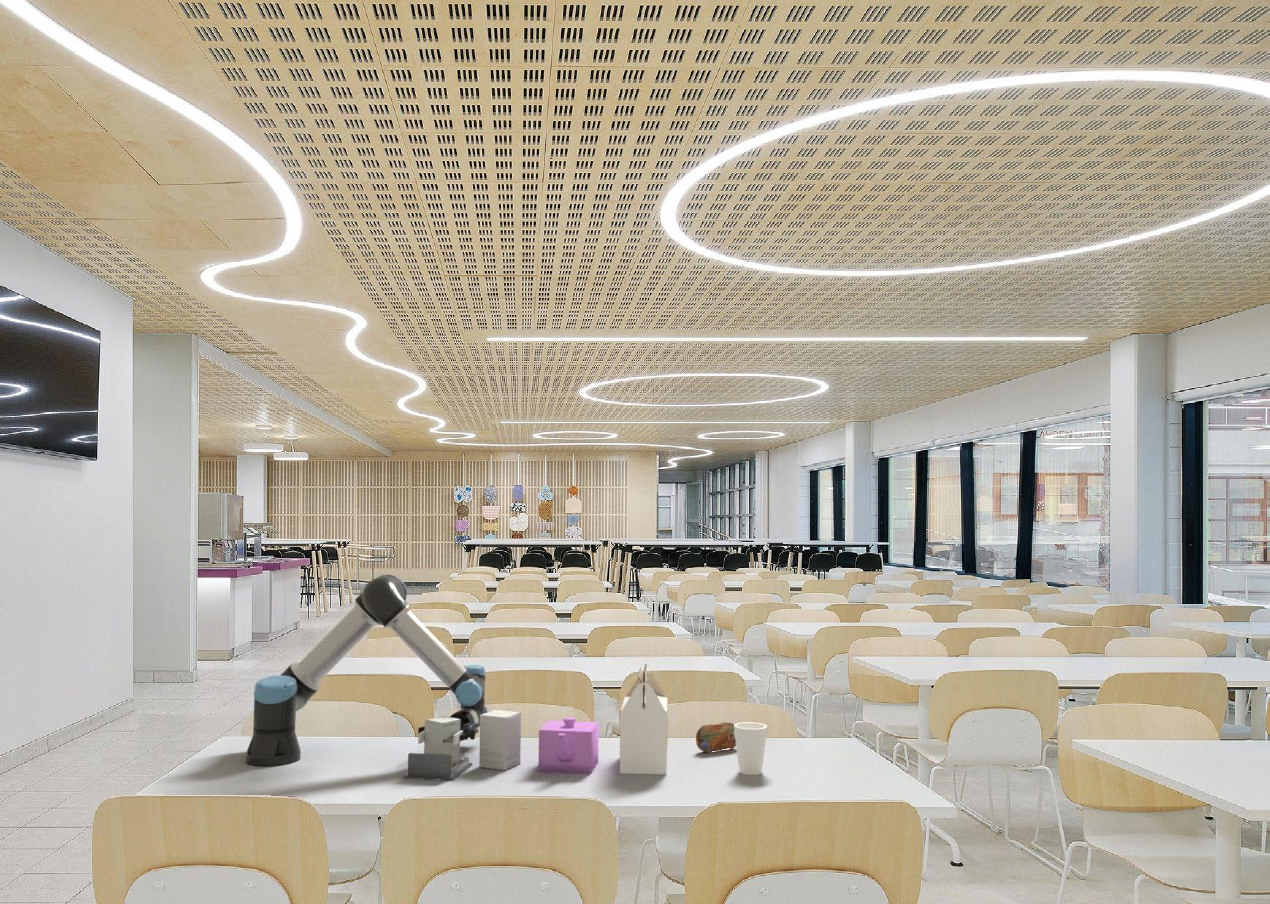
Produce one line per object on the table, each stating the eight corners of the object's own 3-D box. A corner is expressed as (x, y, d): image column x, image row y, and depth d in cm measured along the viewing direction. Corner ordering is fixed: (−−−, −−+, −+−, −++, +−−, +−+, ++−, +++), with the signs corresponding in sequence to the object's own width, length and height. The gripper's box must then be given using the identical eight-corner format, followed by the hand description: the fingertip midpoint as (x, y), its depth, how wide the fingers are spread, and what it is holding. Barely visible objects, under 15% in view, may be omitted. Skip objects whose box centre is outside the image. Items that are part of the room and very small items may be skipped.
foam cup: (745, 777, 272) (745, 730, 273) (727, 770, 280) (727, 724, 281) (773, 774, 276) (773, 727, 277) (755, 766, 285) (755, 721, 285)
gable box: (623, 754, 297) (624, 661, 299) (667, 755, 297) (667, 662, 298) (619, 774, 275) (620, 673, 277) (666, 775, 274) (667, 674, 276)
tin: (699, 754, 298) (700, 726, 299) (694, 752, 301) (694, 724, 302) (739, 749, 306) (739, 721, 307) (733, 747, 309) (733, 720, 309)
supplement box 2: (521, 763, 285) (522, 711, 286) (505, 770, 277) (505, 717, 278) (495, 760, 289) (496, 708, 290) (478, 767, 281) (479, 714, 282)
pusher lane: (404, 778, 268) (404, 753, 269) (426, 762, 285) (426, 739, 286) (453, 780, 266) (453, 755, 267) (472, 764, 283) (472, 741, 283)
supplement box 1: (440, 768, 273) (441, 722, 273) (422, 764, 277) (423, 719, 278) (460, 763, 278) (461, 718, 279) (442, 759, 283) (443, 715, 284)
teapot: (532, 778, 269) (533, 727, 270) (551, 756, 294) (551, 709, 295) (587, 780, 268) (587, 728, 269) (600, 758, 292) (601, 711, 293)
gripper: (497, 737, 294) (474, 754, 272) (427, 733, 297) (398, 751, 275) (498, 711, 295) (475, 727, 273) (427, 708, 298) (399, 724, 276)
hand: (437, 739), depth 274 cm, fingers closed on supplement box 1, 9 cm apart
